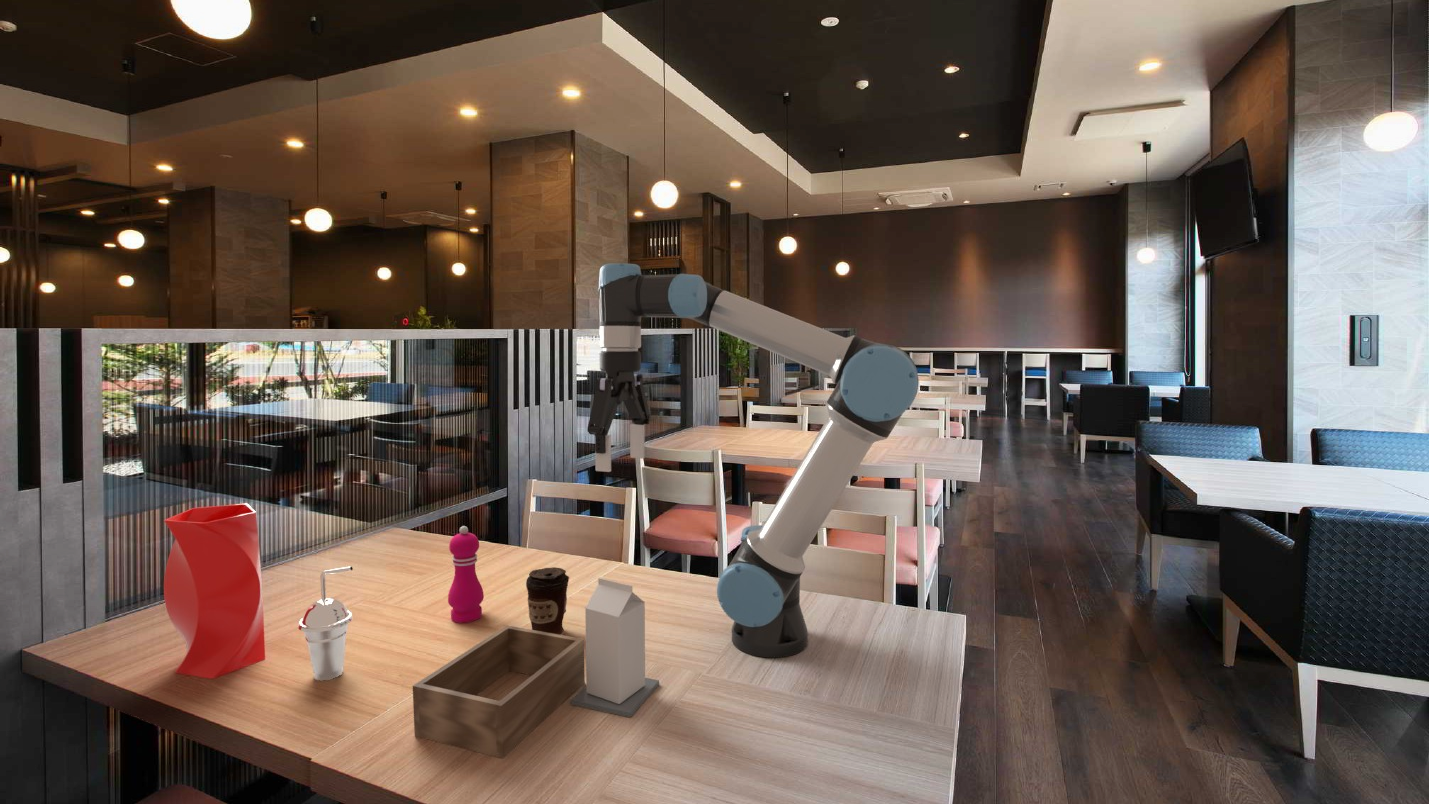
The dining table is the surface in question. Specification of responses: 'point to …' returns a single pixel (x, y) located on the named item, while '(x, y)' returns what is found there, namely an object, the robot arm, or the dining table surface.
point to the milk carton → (615, 642)
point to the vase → (216, 589)
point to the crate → (502, 725)
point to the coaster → (623, 709)
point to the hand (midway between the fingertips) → (621, 464)
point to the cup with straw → (326, 632)
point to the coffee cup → (547, 599)
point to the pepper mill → (465, 578)
